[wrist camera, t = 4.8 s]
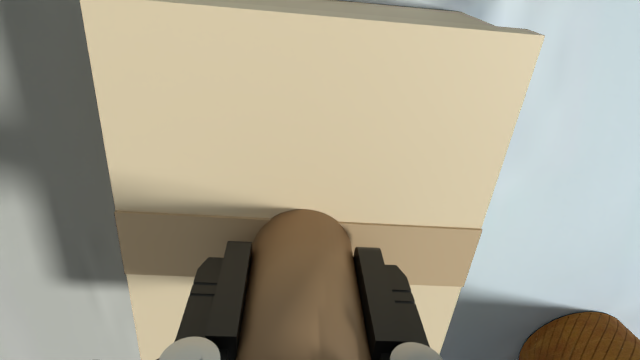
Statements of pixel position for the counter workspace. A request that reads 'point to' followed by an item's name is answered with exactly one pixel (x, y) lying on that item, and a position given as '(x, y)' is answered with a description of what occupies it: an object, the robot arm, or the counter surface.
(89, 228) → the counter surface
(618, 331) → the disposable coffee cup
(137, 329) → the lid
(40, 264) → the counter surface
